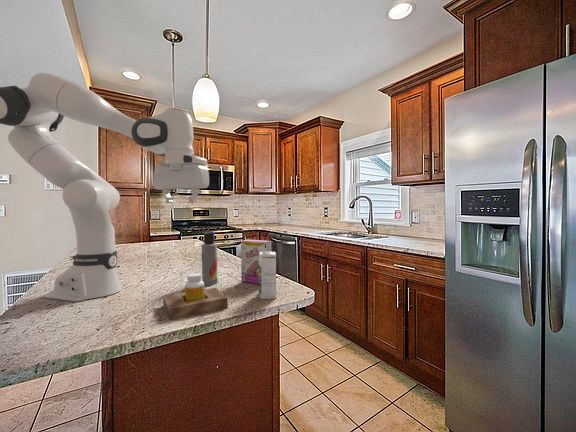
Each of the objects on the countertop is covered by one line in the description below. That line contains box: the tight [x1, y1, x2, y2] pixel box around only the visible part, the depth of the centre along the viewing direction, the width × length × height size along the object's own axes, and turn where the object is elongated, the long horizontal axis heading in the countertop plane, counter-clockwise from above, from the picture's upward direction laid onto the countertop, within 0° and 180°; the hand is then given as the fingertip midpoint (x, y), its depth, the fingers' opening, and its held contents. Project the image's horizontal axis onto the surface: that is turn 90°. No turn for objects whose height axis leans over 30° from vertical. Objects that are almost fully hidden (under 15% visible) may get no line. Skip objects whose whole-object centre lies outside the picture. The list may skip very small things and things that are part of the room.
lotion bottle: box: [201, 231, 218, 286], centre depth 109 cm, size 6×6×20 cm
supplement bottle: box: [184, 272, 205, 302], centre depth 84 cm, size 5×5×10 cm
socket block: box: [162, 287, 229, 320], centre depth 84 cm, size 16×12×3 cm
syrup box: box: [257, 251, 277, 300], centre depth 93 cm, size 6×6×14 cm
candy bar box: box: [240, 239, 272, 285], centre depth 109 cm, size 11×5×16 cm, turn 66°
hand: (180, 202), depth 92 cm, fingers open, 8 cm apart
